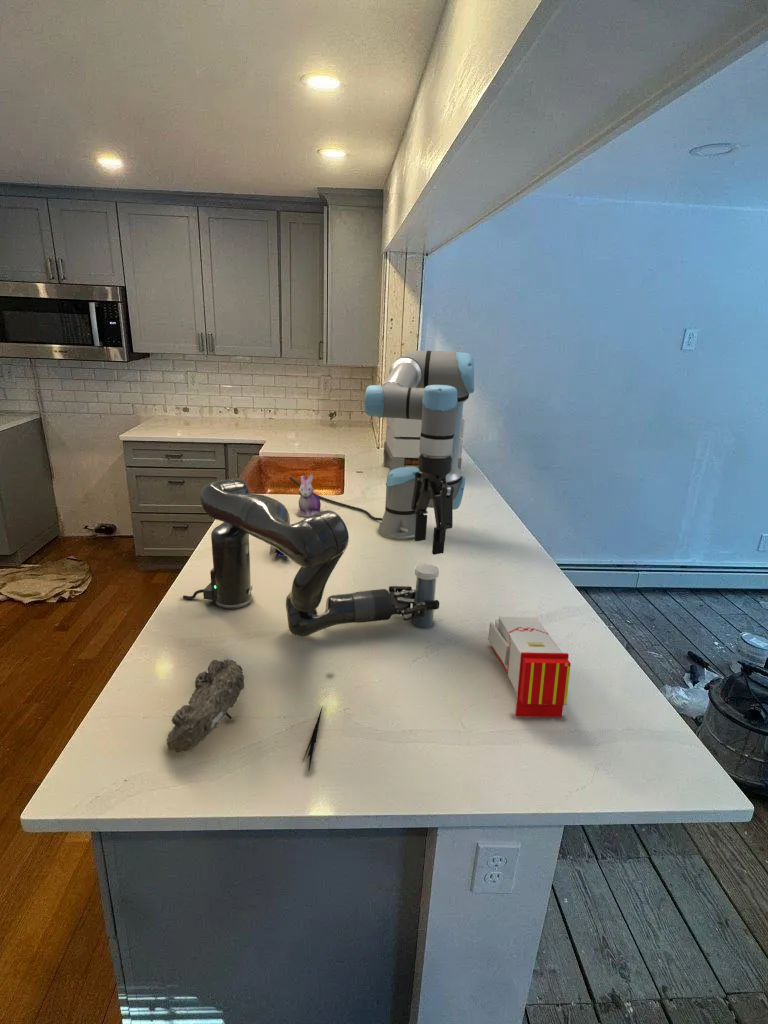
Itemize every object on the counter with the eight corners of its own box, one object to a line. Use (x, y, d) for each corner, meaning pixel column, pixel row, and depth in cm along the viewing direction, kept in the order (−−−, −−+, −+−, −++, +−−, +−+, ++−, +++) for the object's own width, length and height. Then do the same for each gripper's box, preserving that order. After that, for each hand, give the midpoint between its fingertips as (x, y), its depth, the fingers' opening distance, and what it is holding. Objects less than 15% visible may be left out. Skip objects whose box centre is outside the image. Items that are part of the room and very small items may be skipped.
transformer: (382, 463, 289) (386, 382, 275) (445, 464, 293) (451, 384, 279) (390, 482, 257) (394, 392, 243) (460, 483, 261) (468, 394, 247)
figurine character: (291, 566, 174) (297, 542, 188) (290, 545, 171) (296, 522, 184) (269, 566, 174) (276, 541, 187) (268, 544, 171) (275, 521, 184)
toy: (534, 602, 136) (579, 659, 107) (529, 653, 139) (572, 723, 110) (484, 601, 136) (516, 658, 107) (480, 652, 139) (510, 722, 109)
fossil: (192, 660, 117) (244, 628, 112) (224, 691, 120) (276, 661, 115) (142, 746, 98) (202, 712, 93) (182, 779, 101) (242, 748, 96)
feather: (331, 679, 122) (336, 673, 122) (307, 777, 96) (313, 769, 95) (324, 675, 122) (329, 669, 121) (298, 772, 95) (304, 764, 95)
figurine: (302, 519, 209) (301, 480, 204) (293, 510, 217) (292, 472, 212) (325, 516, 213) (326, 477, 208) (316, 507, 222) (316, 470, 217)
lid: (410, 572, 140) (410, 566, 140) (428, 567, 143) (429, 561, 143) (424, 581, 136) (424, 575, 135) (443, 576, 139) (443, 570, 138)
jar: (409, 620, 145) (412, 568, 140) (424, 615, 147) (428, 564, 142) (421, 629, 141) (425, 576, 136) (436, 624, 144) (441, 572, 139)
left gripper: (378, 606, 130) (446, 599, 135) (362, 579, 143) (425, 573, 148) (377, 635, 133) (444, 626, 138) (361, 605, 146) (423, 598, 150)
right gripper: (475, 465, 122) (465, 561, 130) (427, 443, 140) (421, 529, 147) (445, 467, 119) (437, 566, 127) (400, 445, 136) (395, 533, 144)
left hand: (434, 599), depth 143 cm, fingers closed on jar, 5 cm apart
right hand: (428, 546), depth 137 cm, fingers open, 8 cm apart
